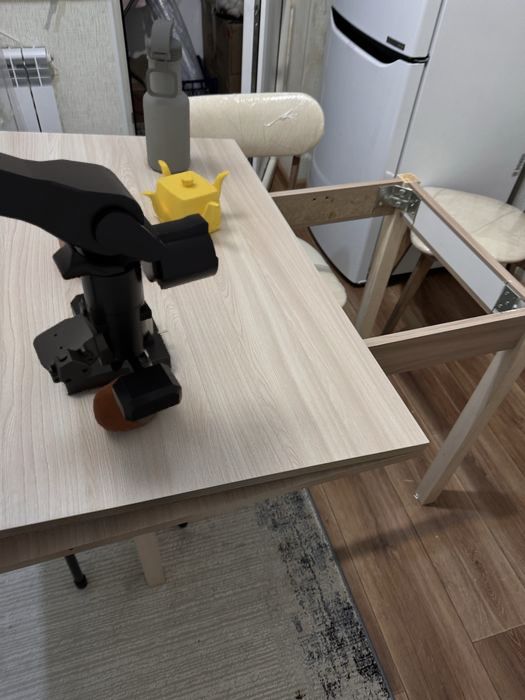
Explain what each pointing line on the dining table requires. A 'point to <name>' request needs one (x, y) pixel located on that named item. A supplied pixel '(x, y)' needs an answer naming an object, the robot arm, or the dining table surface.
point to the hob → (106, 374)
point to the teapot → (187, 196)
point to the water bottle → (166, 101)
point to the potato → (111, 411)
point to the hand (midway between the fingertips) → (130, 394)
